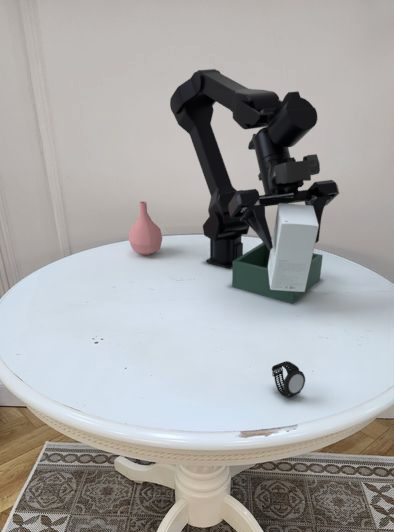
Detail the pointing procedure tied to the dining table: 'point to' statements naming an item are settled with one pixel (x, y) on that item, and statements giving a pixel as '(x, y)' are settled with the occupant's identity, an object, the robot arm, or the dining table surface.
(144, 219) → the pink vase
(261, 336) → the dining table surface
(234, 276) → the green storage bin
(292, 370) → the smartwatch
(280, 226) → the small box
